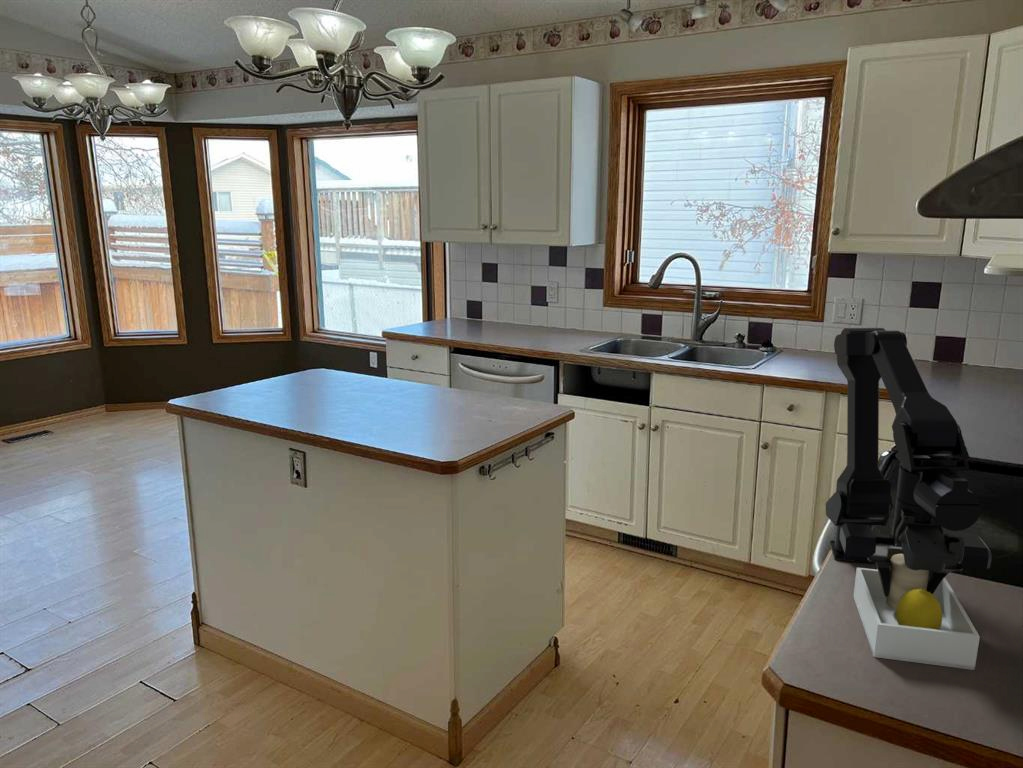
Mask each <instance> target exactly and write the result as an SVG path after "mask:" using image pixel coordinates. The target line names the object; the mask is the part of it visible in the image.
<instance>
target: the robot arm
mask: <svg viewBox="0 0 1023 768" xmlns="http://www.w3.org/2000/svg"><path fill="white" fill-rule="evenodd" d="M833 343H834V345H833V349H834V353H835V355H836V362H837V367H838V368H839V370H840V371H841V373H842V374H843V376H844V377H845V378H846V380H847V381H846V382H847V417H846V418H847V419H846V420H847V422H846V423H847V424H846V425H847V427H846V428H847V430H846V431H847V435H846V436H847V438H846V439H847V445H846V449H847V450H846V452H847V453H846V454H847V455H846V466H845V468H844V469H843V470H842V472H841V473H840V475H839V477H838V478H837V480H836V488H835V492H834V493H833V494H832V495H831V497H829V499H828V500H827V501H826V502H825V516H826V517H827V518H828V519H829V520H830V522H831V523H832V524H833V525H834V526H835V537H834V540H830V541H829V546H830V549H831V552H832V555H833V559H834V560H840V561H849V562H858V563H859V562H860V563H870V564H875V565H876V569H877V570H878V573H879V577H880V581H881V584H882V588H883V592H884V595H885V597H888V594H889V588H890V565H891V558H890V556H889V550H901V551H902V554H903V555H904V560H905V565H906V566H907V567H908V568H909V569H912V570H929V576H928V583H927V590H926V591H928V592H930V593H931V594H933V593H934V592H935V590H936V589H937V587H938V585H939V584H940V583H941V581H942V580H943V579H944V578H946V577H947V575H949V574H951V573H953V572H961V571H963V569H964V567H965V568H972V569H981V570H982V569H983V570H988V569H990V568H991V564H992V558H993V557H992V551H991V550H990V549H989V547H988V546H987V544H986V543H985V542H984V540H983V539H982V538H981V537H980V536H979V535H978V534H977V533H964V532H959V531H963V530H966V529H969V528H970V527H972V526H974V524H975V523H976V522H977V521H978V520H979V518H980V517H981V513H982V505H981V501H980V498H979V497H978V496H977V495H976V493H974V492H972V491H971V490H969V484H970V482H969V480H967V478H964V477H962V476H960V475H958V473H969V472H970V466H969V460H970V459H971V458H970V455H969V452H968V448H967V445H966V442H965V440H964V437H963V433H962V429H961V426H960V425H959V424H958V421H957V420H956V419H955V417H954V416H953V414H952V413H951V411H950V410H949V408H948V407H947V406H946V405H945V404H943V403H942V402H939V401H938V400H937V399H935V398H933V397H932V396H931V394H930V393H929V390H928V389H927V386H926V383H925V382H924V380H923V377H922V376H921V374H920V371H919V370H918V367H917V365H916V363H915V361H914V359H913V357H912V354H911V353H910V350H909V348H908V346H907V345H908V339H907V335H906V334H905V332H904V331H899V330H886V329H885V328H884V327H845V328H843V329H842V330H841V332H840V334H837V335H836V336H835V338H834V342H833ZM880 380H882V382H883V384H884V387H885V390H886V392H887V394H888V396H889V399H890V402H891V403H892V406H893V408H894V411H895V417H894V419H893V422H892V425H891V429H892V436H893V442H894V445H895V447H896V450H897V453H895V458H896V459H897V460H898V461H899V468H898V477H897V484H896V492H895V493H896V494H895V496H894V497H893V498H894V499H892V496H891V489H892V484H891V481H890V480H889V479H886V477H885V476H884V475H883V473H882V471H881V470H880V468H879V449H880V448H879V445H880V444H879V442H880V440H879V438H880V437H879V432H880V430H879V429H880V428H879V423H880V421H879V420H880V419H879V417H880V412H879V411H880V410H879V409H880ZM949 455H951V457H945V456H949ZM930 456H944V457H930ZM893 508H894V510H893ZM892 510H893V516H892V517H893V518H892V522H891V523H890V530H891V534H882V533H874V531H873V529H874V526H876V527H879V526H881V527H886V526H887V524H888V521H889V518H890V515H891V512H892ZM943 528H944V529H945V530H947V531H951V532H950V533H944V531H943Z"/></svg>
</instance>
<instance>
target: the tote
mask: <svg viewBox="0 0 1023 768" xmlns="http://www.w3.org/2000/svg"><path fill="white" fill-rule="evenodd" d="M933 595H934V596H935V597H936V598H937V600H938V601H939V603H940V606H941V609H942V623H941V627H940V629H939V630H937V629H928V628H920V627H911V626H903V625H898V622H897V614H896V612H897V611H896V610H894V609H892V608H891V607H889V606H888V605H887V603H886V597H885V595H884V592H883V588H882V584H881V581H880V577H879V573H878V569H877V568H876V569H873V568H866V567H856V571H855V580H854V588H853V598H854V602H855V605H856V607H857V608H856V609H857V610H858V614H859V617H860V620H861V623H862V626H863V630H864V632H865V635H866V638H867V640H868V644H869V646H870V650H871V653H872V656H873V658H880V659H886V660H893V661H894V660H896V661H900V662H901V661H903V662H908V663H910V662H912V663H919V664H925V665H932V666H933V665H934V666H942V667H949V668H957V669H963V670H971V671H972V670H973V671H974V670H975V669H976V663H977V658H978V657H977V656H978V652H979V651H978V649H979V643H980V635H979V633H978V630H977V629H976V628H975V625H974V624H973V623H972V621H971V619H970V617H969V615H968V614H967V612H966V610H965V608H964V607H963V605H962V603H961V602H960V600H959V599H958V597H957V595H956V593H955V591H954V590H953V588H952V587H951V585H950V583H949V582H948V579H947V578H946V577H945V578H944V579H943V580H942V581H941V583H940V584H939V585H938V587H937V589H936V590H935V592H934V593H933Z"/></svg>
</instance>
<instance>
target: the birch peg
mask: <svg viewBox="0 0 1023 768" xmlns="http://www.w3.org/2000/svg"><path fill="white" fill-rule="evenodd" d="M890 557H891V558H890V560H891V565H890V588H889V594H888V597H886V603H887V605H888V606H889V607H891V608H892V609H894V610H896V611H897V606H898V603H899V601H900V599H901V597H902V596H903V595H904V594H905V593H906V592H908V591H910V590H913V589H921V588H922V589H925V590H927V583H928V576H929V570H912V569H909V568H908V567H907V566H906V565H905V560H904V555H903V553H897V554H896V553H895V554H893V555H892V556H890Z"/></svg>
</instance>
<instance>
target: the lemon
mask: <svg viewBox="0 0 1023 768" xmlns="http://www.w3.org/2000/svg"><path fill="white" fill-rule="evenodd" d="M896 614H897V622H898V625H903V626H911V627H920V628H928V629H937V630H939V629H940V627H941V623H942V609H941V606H940V603H939V601H938V600H937V598H936V597H935V596H934V595H933V594H931V593H930V592H928V591H926V590H925V589H922V588H921V589H913V590H910V591H908V592H906V593H905V594H904V595H903V596H902V597H901V599H900V601H899V603H898V606H897V612H896Z"/></svg>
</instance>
